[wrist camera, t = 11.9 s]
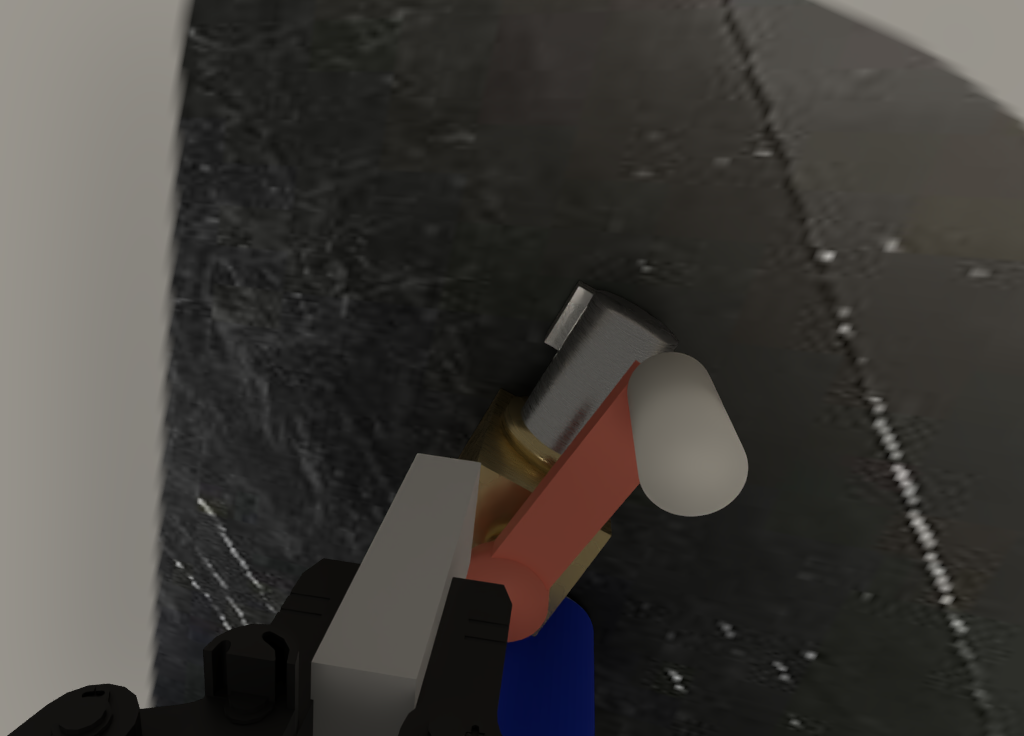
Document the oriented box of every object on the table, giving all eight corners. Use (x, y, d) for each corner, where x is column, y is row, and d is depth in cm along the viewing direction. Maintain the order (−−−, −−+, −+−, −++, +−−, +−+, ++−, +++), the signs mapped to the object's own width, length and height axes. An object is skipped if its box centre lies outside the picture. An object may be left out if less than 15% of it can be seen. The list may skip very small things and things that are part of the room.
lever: (516, 635, 26) (497, 775, 21) (438, 588, 26) (396, 719, 20) (736, 378, 22) (788, 471, 16) (644, 317, 21) (665, 390, 16)
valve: (482, 622, 38) (453, 763, 30) (388, 573, 37) (331, 702, 29) (688, 330, 31) (725, 409, 22) (575, 264, 30) (570, 320, 22)
